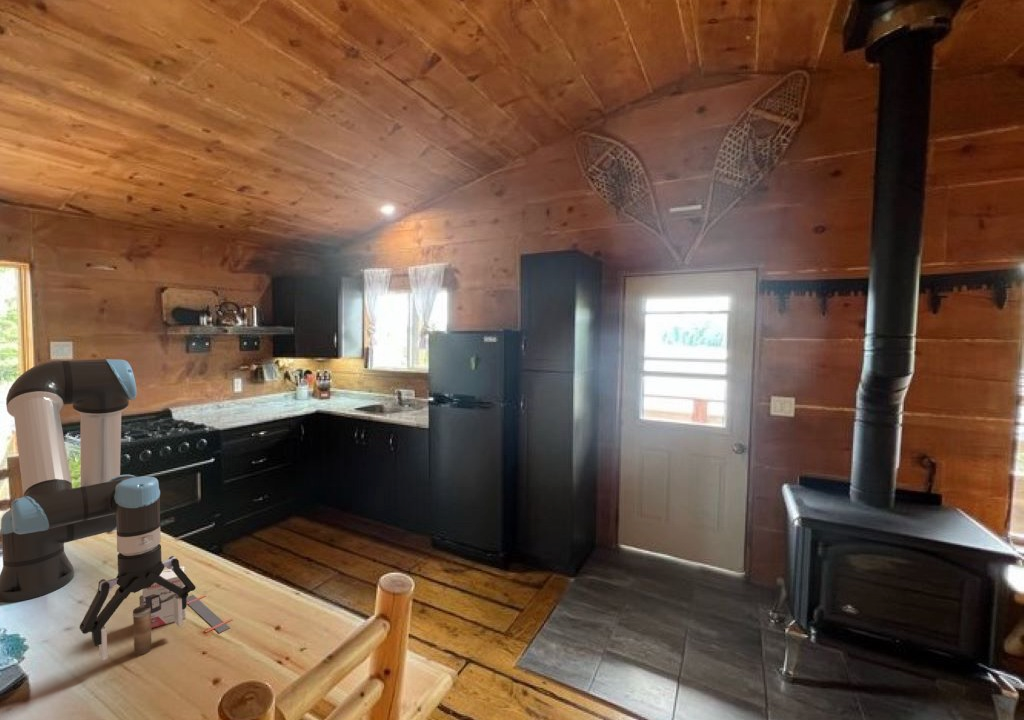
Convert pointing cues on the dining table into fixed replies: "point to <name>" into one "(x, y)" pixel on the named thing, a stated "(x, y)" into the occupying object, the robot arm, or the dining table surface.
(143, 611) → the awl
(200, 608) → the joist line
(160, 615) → the ink box
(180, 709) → the dining table surface
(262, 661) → the dining table surface
